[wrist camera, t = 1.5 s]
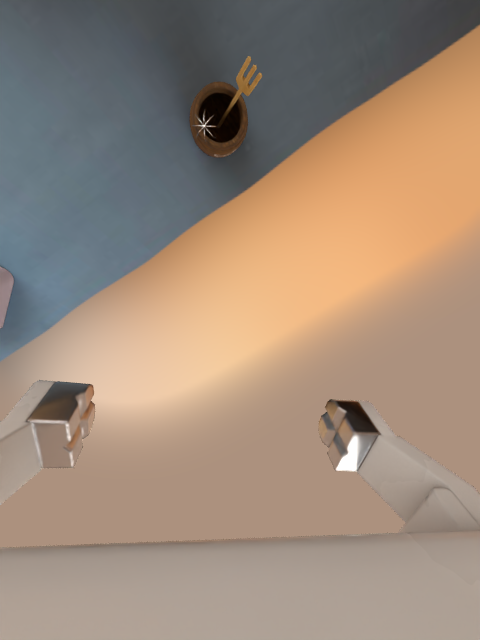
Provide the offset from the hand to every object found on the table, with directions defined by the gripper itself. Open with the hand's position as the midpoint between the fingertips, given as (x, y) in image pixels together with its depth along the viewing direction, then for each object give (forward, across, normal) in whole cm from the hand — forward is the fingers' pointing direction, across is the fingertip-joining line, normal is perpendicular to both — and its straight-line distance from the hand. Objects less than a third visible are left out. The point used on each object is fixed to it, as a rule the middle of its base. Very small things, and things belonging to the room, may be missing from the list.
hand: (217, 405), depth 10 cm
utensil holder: (+31, 0, -12) cm, 34 cm away
